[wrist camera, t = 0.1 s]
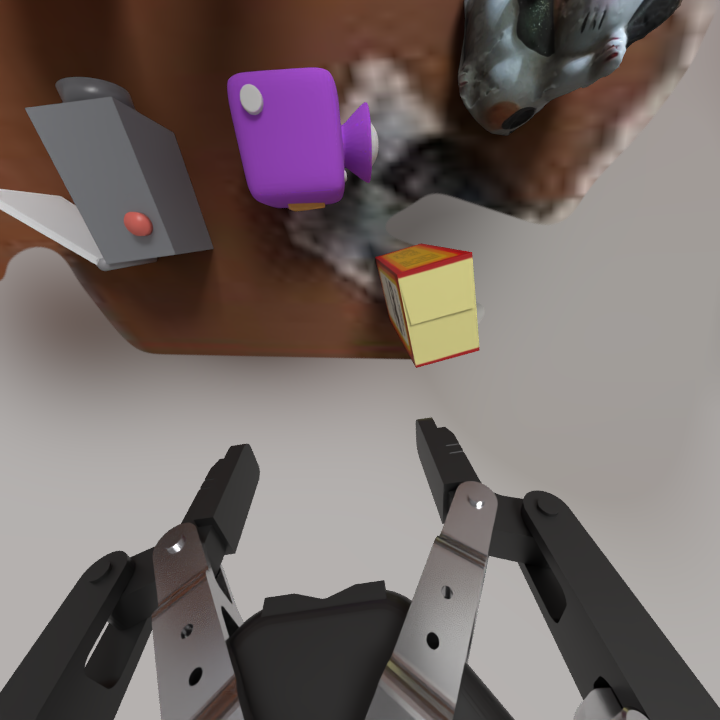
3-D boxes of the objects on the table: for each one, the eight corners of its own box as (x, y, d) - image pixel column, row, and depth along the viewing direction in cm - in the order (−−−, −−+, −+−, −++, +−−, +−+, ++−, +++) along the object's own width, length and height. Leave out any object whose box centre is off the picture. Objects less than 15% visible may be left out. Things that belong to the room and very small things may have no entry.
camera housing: (98, 114, 28) (-10, 63, 20) (164, 105, 28) (86, 50, 20) (159, 256, 35) (99, 265, 26) (213, 248, 35) (171, 255, 26)
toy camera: (380, 193, 33) (396, 179, 24) (278, 225, 34) (257, 224, 25) (357, 79, 29) (366, 11, 20) (239, 120, 29) (195, 72, 20)
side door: (56, 210, 31) (-27, 204, 24) (61, 194, 31) (-24, 184, 24) (153, 269, 35) (104, 279, 28) (158, 256, 34) (110, 263, 27)
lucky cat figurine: (472, -69, 25) (718, -391, 13) (535, 27, 31) (737, -131, 19) (438, 111, 27) (622, -27, 15) (503, 165, 33) (667, 97, 22)
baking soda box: (431, 308, 40) (481, 351, 26) (389, 320, 41) (417, 369, 27) (421, 243, 36) (474, 252, 22) (375, 257, 37) (397, 275, 22)
